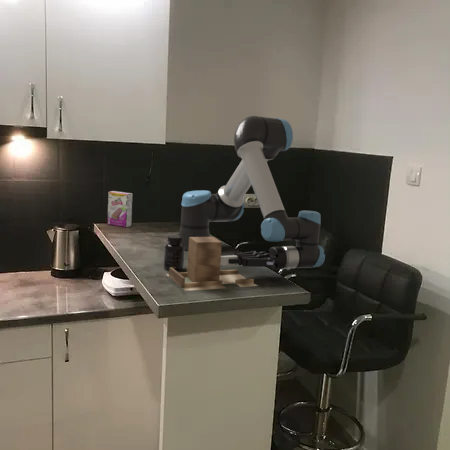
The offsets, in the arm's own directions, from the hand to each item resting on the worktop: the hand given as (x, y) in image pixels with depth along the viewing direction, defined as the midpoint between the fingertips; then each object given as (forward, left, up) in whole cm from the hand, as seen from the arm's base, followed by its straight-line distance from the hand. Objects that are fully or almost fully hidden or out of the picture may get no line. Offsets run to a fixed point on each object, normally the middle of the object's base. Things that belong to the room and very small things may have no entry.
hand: (218, 260), depth 156 cm
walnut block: (+3, -3, -6) cm, 8 cm away
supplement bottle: (+1, -18, -8) cm, 20 cm away
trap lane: (+1, -1, -7) cm, 8 cm away
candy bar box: (-36, -94, -8) cm, 101 cm away
